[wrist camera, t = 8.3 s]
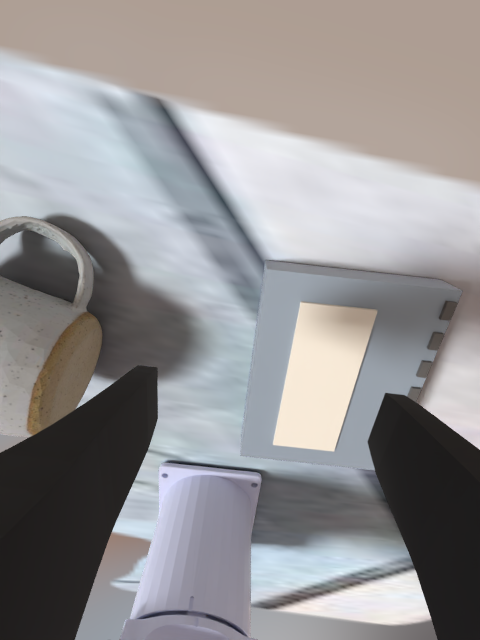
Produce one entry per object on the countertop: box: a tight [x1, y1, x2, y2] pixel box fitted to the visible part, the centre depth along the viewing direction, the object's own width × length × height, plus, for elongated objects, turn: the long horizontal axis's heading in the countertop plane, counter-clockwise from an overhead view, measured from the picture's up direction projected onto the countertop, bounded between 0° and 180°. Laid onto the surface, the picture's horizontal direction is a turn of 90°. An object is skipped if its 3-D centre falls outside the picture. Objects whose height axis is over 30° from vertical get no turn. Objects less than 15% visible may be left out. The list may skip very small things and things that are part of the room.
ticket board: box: [240, 260, 463, 470], centre depth 19 cm, size 13×10×2 cm
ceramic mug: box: [0, 216, 102, 437], centre depth 16 cm, size 11×8×8 cm
